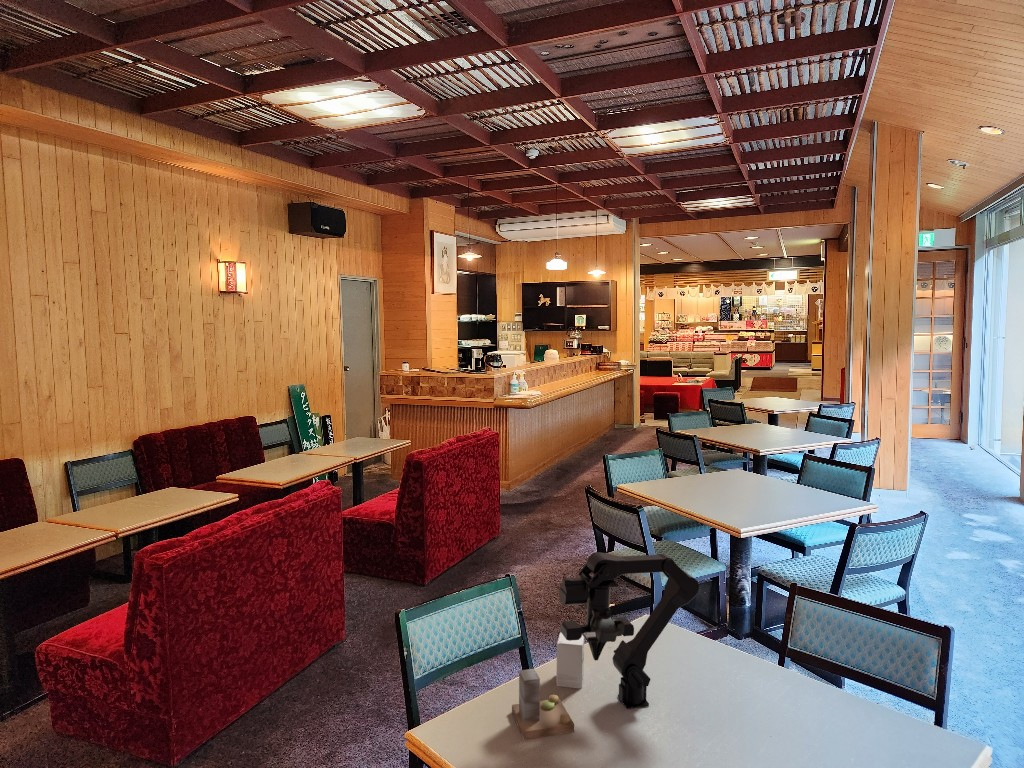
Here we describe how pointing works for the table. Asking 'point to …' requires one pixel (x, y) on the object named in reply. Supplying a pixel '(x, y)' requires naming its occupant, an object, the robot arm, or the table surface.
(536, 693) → the wooden base with pillar
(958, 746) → the table surface
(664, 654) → the table surface
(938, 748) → the table surface
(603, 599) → the robot arm
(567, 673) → the supplement box
